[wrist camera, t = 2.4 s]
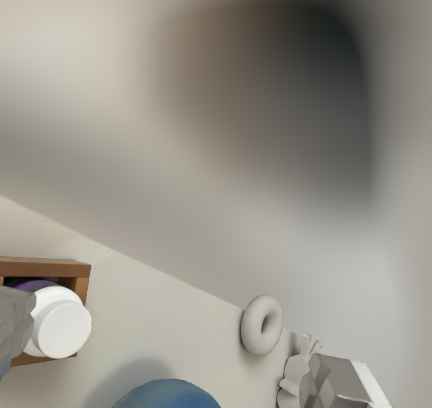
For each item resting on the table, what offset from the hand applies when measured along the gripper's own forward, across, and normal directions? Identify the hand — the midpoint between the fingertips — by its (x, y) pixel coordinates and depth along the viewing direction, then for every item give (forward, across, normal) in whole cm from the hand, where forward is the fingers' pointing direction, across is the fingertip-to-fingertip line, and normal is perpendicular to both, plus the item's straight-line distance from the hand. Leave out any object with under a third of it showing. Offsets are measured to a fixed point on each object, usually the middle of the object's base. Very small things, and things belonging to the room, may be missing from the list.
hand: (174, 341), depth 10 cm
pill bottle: (+19, +14, +15) cm, 28 cm away
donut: (+42, -15, +27) cm, 52 cm away
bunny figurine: (+47, -26, +39) cm, 67 cm away
